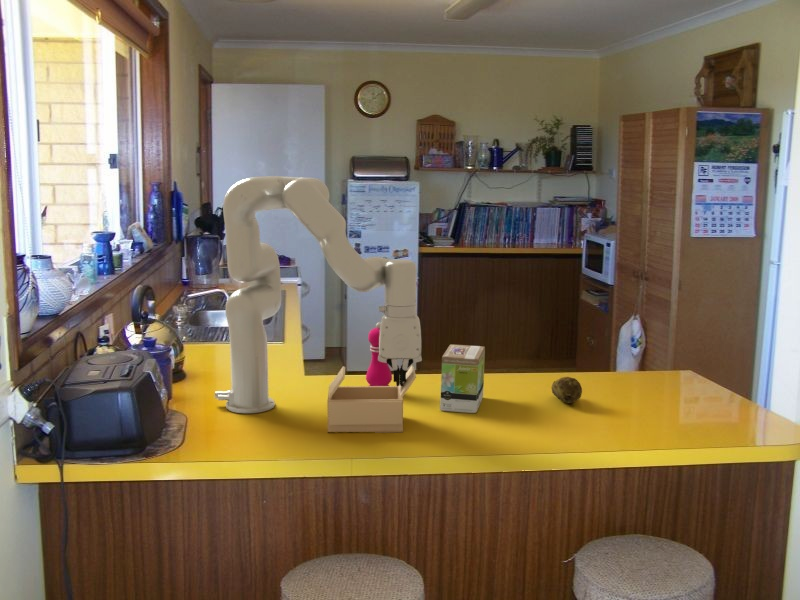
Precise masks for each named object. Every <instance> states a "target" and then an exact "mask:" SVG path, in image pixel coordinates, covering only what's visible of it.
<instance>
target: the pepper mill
mask: <svg viewBox="0 0 800 600" xmlns="http://www.w3.org/2000/svg"><path fill="white" fill-rule="evenodd" d="M380 325H381V321H378V322H377V323H376V324H375V328H372V329H371V330H370V331H369V333H368V336H367V340H368V342H369V343H370V344H369V345H370V346H369V348H370V349H369V351H370V352H371V360H370V364H369V366H368V369H367V372H366V374H365V375H366V376H365V380H366V382H367V383H368V386H390V385H389V384H390V383H391V382H392V381H393V373H392V371H391V369H390V365H389V364H388V363H384V362H380V361H378V356H379V335H380Z"/></svg>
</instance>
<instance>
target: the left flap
mask: <svg viewBox="0 0 800 600" xmlns="http://www.w3.org/2000/svg"><path fill="white" fill-rule="evenodd" d="M345 377H346V366H342V367H341V369H340V370H339V371H338V372H337V375H336V376H335V377H334V379H332V381H331V382H330V384H329V387H328V392H329V395H328V394H327V398H328V397H329V398H331V397H332V395H333V394H334V392H335V391H336V390H337V388H338V387H339V386H340V385H341V384H342V383H343V381H344V380H345Z"/></svg>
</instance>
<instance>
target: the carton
mask: <svg viewBox="0 0 800 600" xmlns="http://www.w3.org/2000/svg"><path fill="white" fill-rule="evenodd" d="M328 395H329V391H328V393H327V402H326V403H327V407H326V409H327V433H328V432H375V433H403V432H404V398H403V397H404V396H403V397H400V392H399V386H397V385H389V386H369V385H365V386H362V385H360V386H359V385H357V386H356V385H355V386H353V385H352V386H351V385H350V386H348V385H347V386H346V385H345V386H340V385H339V387H338V388H337V390H336V391H335V392H334V394H333V395H332V397H331V398H329V397H328Z"/></svg>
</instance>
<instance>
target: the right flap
mask: <svg viewBox="0 0 800 600" xmlns="http://www.w3.org/2000/svg"><path fill="white" fill-rule="evenodd" d="M416 375H417V374H416V371H415V367H414V365H410V366H409V367H408V369H407V370H406V382H403V386H399V392H400V397H404V396H405V394H406V393H407V392H408V390H409V389H410V387H411V385H412V384H413V383H414V381H415V380H416V379H417V376H416Z"/></svg>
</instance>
